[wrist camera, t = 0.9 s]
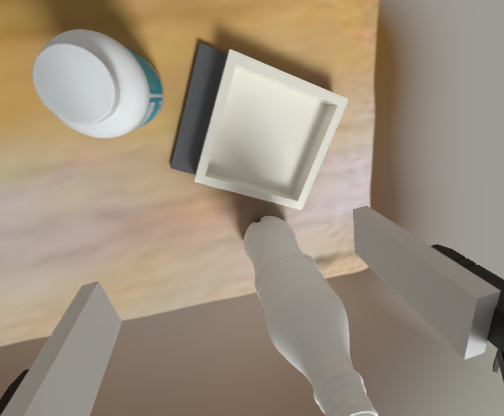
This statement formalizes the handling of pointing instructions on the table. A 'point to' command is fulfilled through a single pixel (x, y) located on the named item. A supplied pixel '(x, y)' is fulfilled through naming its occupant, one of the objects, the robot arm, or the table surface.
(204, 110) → the mat
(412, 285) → the robot arm
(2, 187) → the table surface
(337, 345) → the water bottle
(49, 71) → the pill bottle
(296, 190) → the tray
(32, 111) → the table surface
